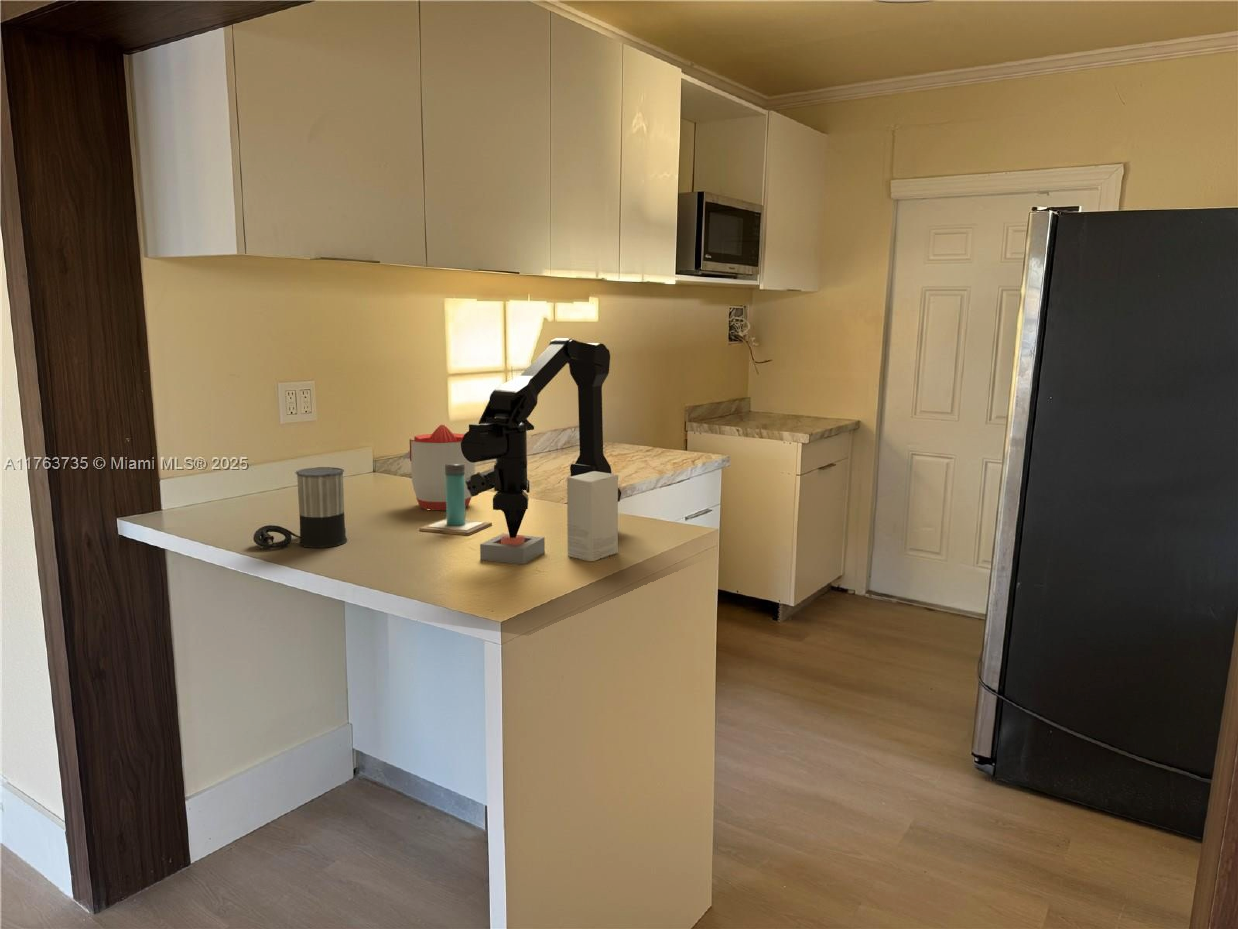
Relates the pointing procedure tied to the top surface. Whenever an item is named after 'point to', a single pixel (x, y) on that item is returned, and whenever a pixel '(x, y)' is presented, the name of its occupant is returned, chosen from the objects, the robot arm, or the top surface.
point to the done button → (512, 540)
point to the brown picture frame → (455, 527)
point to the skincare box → (592, 515)
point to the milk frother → (314, 511)
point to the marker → (455, 494)
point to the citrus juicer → (436, 466)
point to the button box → (512, 550)
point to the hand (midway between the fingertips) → (512, 537)
